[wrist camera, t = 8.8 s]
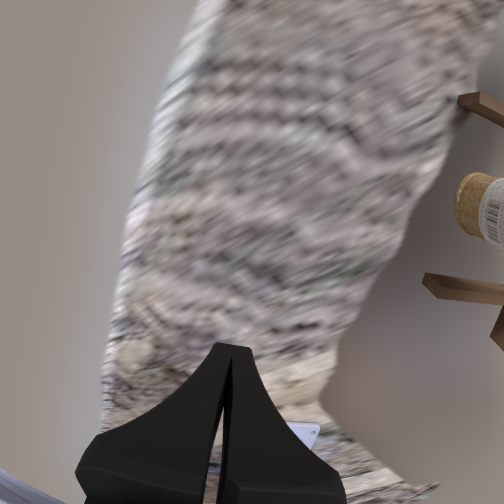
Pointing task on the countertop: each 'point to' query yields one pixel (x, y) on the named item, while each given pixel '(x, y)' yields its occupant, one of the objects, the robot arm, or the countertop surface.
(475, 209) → the sprinkles bottle
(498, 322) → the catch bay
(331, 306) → the countertop surface
